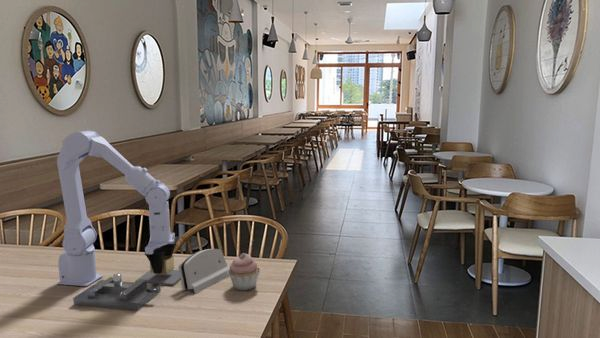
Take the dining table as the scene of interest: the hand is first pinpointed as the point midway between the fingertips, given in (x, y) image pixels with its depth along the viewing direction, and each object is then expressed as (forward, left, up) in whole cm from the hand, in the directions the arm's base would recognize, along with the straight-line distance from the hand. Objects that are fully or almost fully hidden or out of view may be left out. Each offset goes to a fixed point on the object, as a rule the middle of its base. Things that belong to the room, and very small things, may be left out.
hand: (162, 269), depth 135 cm
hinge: (+14, 0, -3) cm, 14 cm away
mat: (0, 0, -2) cm, 2 cm away
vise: (-4, -15, -3) cm, 16 cm away
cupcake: (+26, -2, -3) cm, 26 cm away
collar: (0, 0, 0) cm, 0 cm away
